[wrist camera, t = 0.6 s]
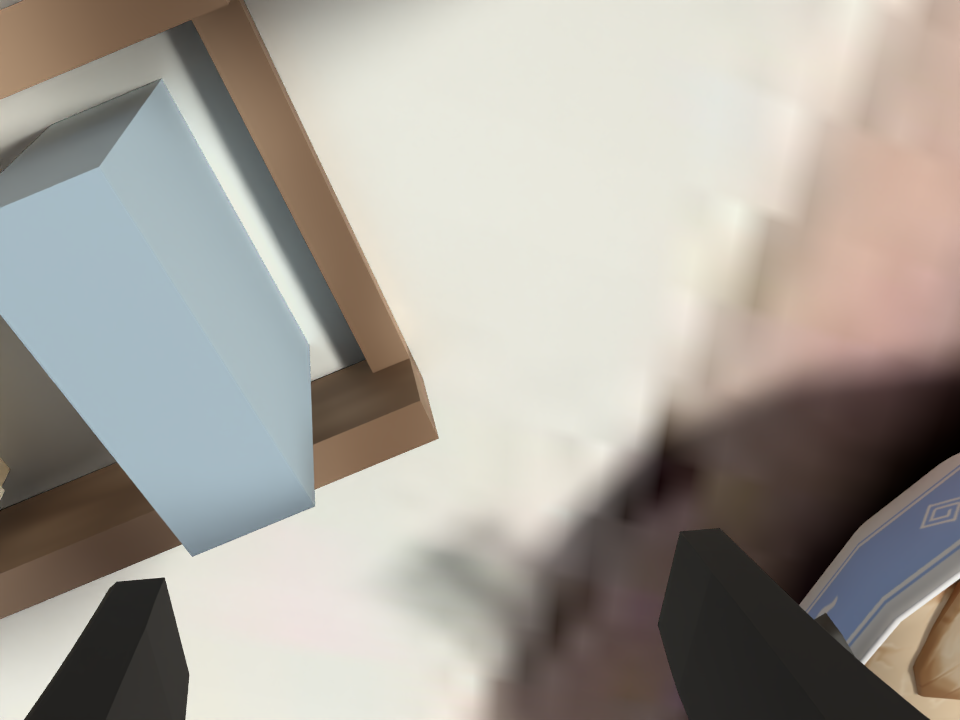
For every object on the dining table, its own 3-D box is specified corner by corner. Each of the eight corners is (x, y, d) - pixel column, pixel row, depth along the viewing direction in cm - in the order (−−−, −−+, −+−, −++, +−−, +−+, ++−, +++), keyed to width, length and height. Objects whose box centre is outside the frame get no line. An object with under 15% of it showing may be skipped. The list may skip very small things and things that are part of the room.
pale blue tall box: (218, 381, 21) (192, 556, 15) (52, 124, 17) (-64, 233, 11) (309, 343, 20) (315, 506, 15) (161, 78, 17) (98, 166, 11)
